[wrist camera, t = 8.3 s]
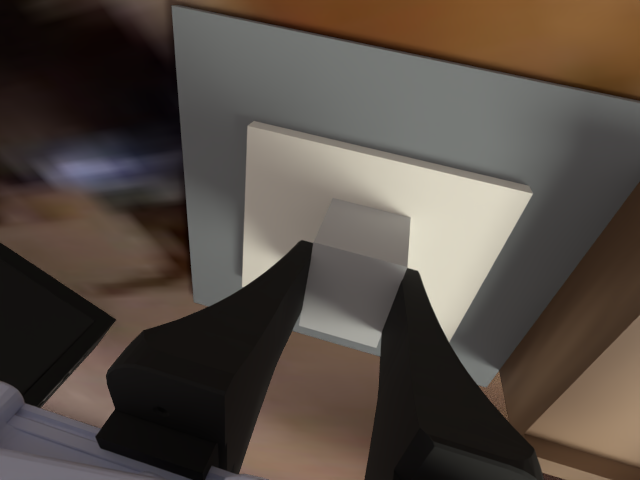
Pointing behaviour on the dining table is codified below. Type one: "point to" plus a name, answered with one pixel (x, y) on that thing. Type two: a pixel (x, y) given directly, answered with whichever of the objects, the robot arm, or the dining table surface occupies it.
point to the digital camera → (42, 329)
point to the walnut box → (585, 363)
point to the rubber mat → (402, 154)
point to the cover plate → (384, 182)
